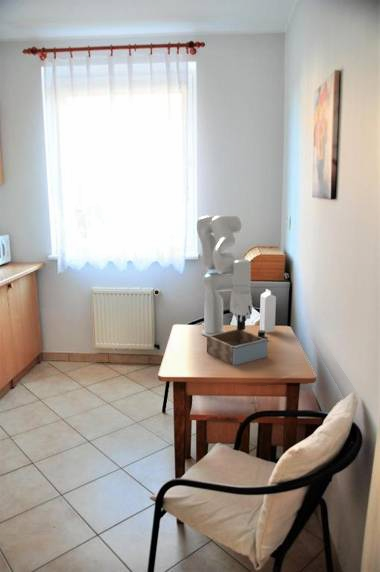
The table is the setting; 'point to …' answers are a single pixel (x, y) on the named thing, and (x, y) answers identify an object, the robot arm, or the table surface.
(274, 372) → the table surface
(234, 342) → the crate
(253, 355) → the panel
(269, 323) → the milk
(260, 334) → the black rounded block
